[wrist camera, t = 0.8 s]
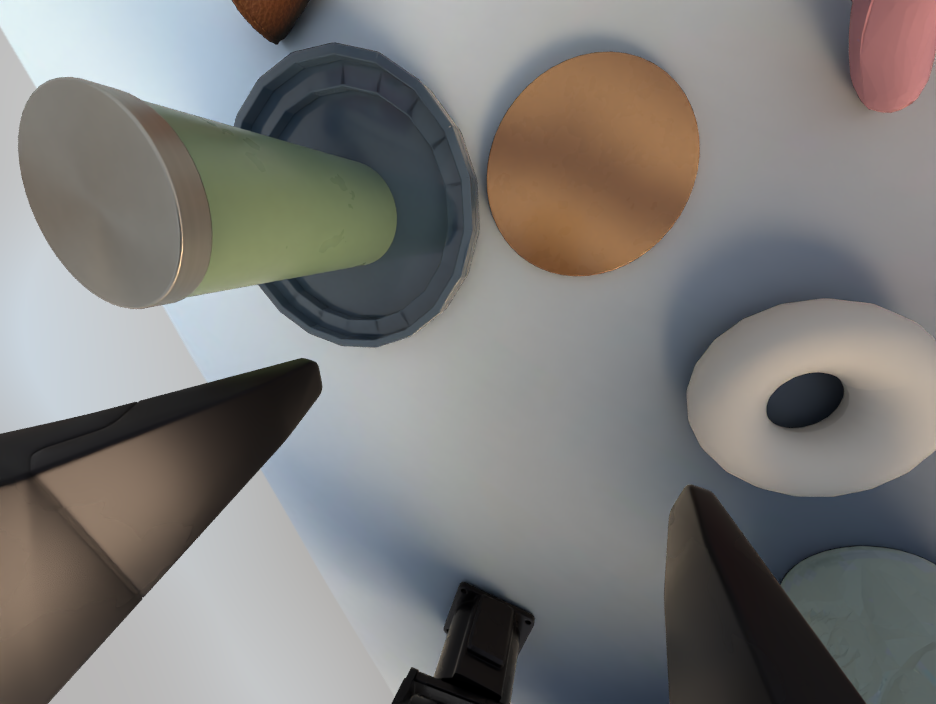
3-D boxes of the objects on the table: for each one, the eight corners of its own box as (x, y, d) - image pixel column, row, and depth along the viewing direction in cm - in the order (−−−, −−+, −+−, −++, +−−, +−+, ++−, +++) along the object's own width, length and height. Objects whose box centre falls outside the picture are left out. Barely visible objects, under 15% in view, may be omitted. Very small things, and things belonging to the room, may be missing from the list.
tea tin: (389, 279, 23) (186, 336, 11) (306, 251, 24) (41, 276, 12) (407, 173, 21) (172, 103, 9) (314, 148, 22) (-7, 54, 10)
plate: (446, 370, 24) (435, 381, 23) (250, 297, 27) (227, 302, 25) (516, 93, 18) (509, 79, 16) (254, 36, 21) (223, 18, 19)
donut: (639, 397, 21) (786, 501, 21) (648, 426, 18) (821, 550, 18) (787, 251, 17) (979, 375, 16) (831, 255, 14) (1070, 408, 13)
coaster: (640, 298, 20) (642, 300, 19) (469, 246, 21) (466, 246, 21) (740, 80, 16) (745, 74, 15) (520, 38, 17) (518, 32, 17)
